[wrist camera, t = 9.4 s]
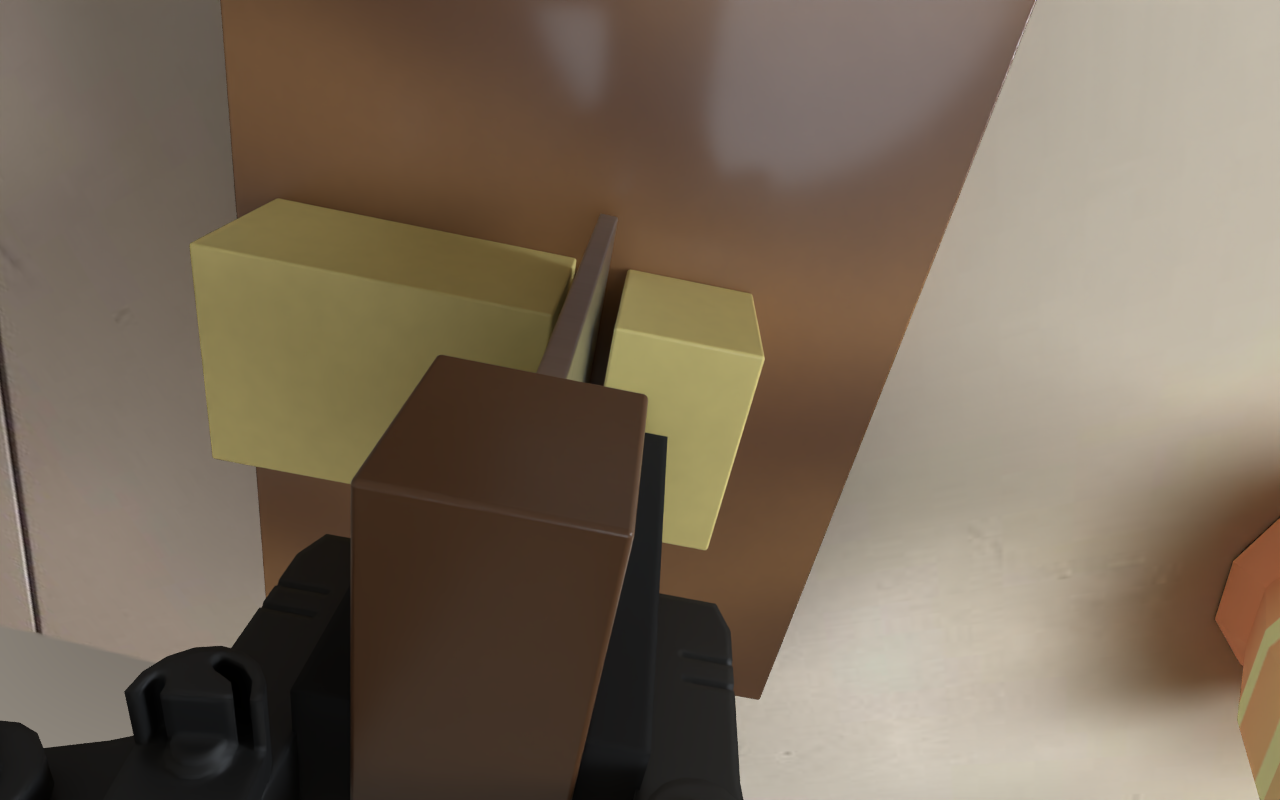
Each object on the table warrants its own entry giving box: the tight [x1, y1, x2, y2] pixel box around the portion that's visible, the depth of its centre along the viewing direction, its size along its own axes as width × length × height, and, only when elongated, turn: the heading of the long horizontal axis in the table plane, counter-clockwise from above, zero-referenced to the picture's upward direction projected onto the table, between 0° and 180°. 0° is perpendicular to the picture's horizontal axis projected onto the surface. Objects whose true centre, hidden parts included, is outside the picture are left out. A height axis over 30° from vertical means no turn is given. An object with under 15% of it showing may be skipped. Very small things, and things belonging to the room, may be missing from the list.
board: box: [220, 0, 1037, 700], centre depth 19 cm, size 22×16×2 cm
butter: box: [189, 198, 576, 484], centre depth 17 cm, size 5×7×4 cm
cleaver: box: [350, 214, 648, 800], centre depth 13 cm, size 9×2×11 cm, turn 169°
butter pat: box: [604, 269, 765, 550], centre depth 17 cm, size 5×3×4 cm, turn 169°
